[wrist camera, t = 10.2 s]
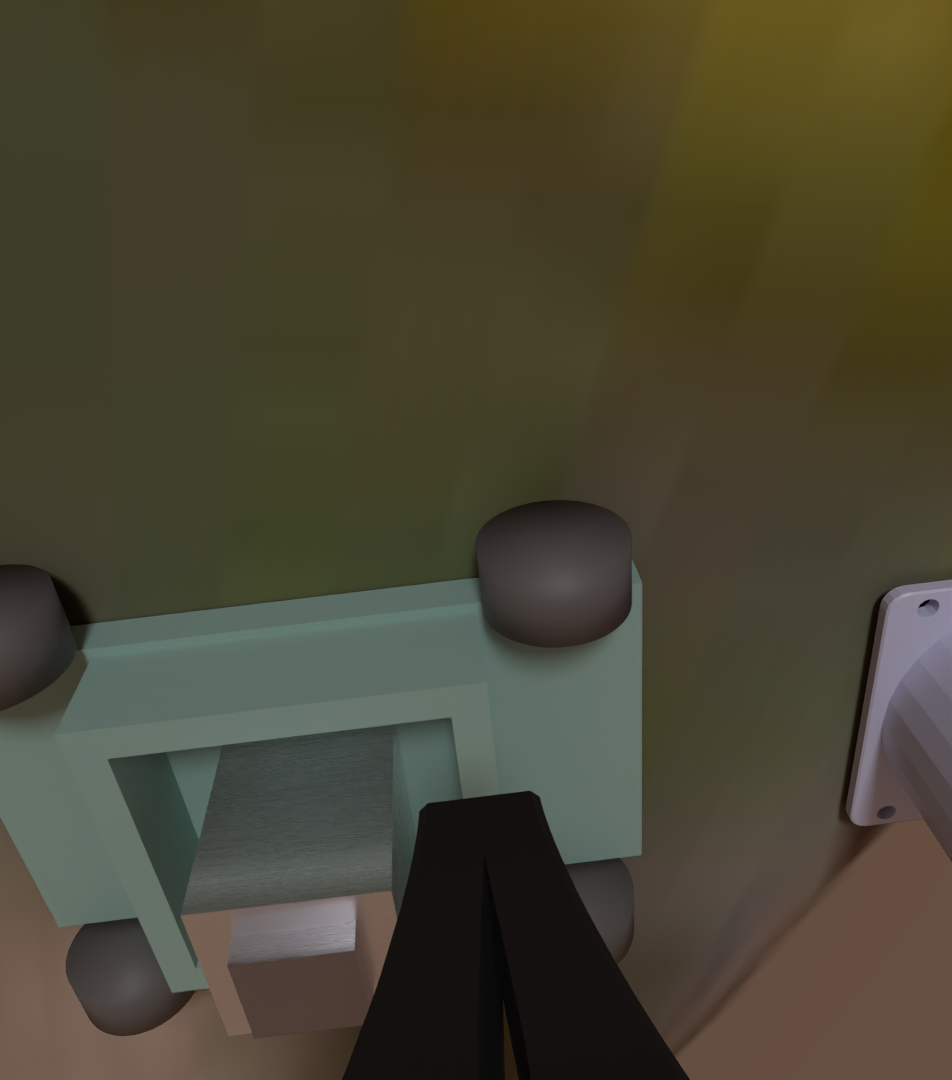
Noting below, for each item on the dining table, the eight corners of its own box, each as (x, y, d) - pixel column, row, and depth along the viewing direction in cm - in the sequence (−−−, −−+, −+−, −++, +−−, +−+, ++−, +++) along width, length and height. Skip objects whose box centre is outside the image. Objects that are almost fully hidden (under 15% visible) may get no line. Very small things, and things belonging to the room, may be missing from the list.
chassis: (631, 490, 20) (673, 576, 17) (633, 868, 26) (663, 979, 23) (-92, 576, 19) (-182, 678, 16) (91, 935, 26) (49, 1056, 23)
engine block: (393, 712, 21) (391, 918, 16) (413, 828, 23) (417, 1041, 18) (226, 732, 21) (173, 944, 16) (260, 846, 23) (223, 1064, 18)
